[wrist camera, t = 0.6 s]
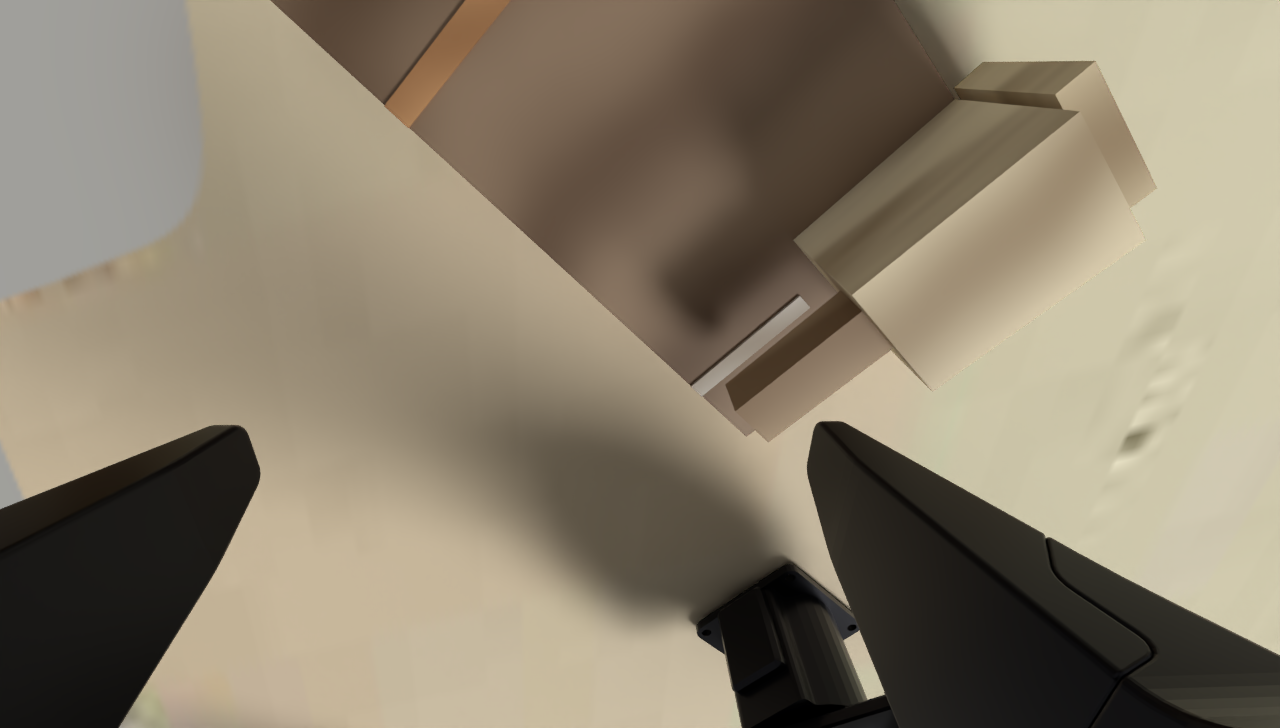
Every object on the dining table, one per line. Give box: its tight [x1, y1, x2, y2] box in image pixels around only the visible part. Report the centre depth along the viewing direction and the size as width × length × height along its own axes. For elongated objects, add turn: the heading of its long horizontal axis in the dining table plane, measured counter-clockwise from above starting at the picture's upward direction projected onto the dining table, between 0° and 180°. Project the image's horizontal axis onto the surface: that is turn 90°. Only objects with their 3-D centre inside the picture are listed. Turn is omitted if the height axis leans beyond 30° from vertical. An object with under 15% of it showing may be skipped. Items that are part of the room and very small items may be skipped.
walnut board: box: [271, 0, 954, 437], centre depth 17 cm, size 20×12×2 cm, turn 44°
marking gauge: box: [725, 61, 1157, 442], centre depth 17 cm, size 4×12×6 cm, turn 134°
